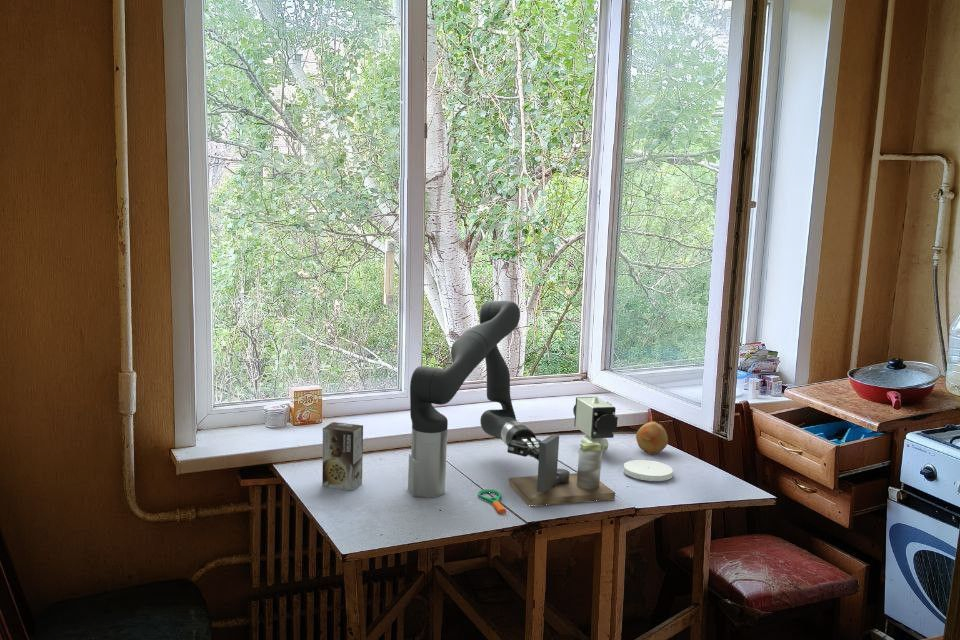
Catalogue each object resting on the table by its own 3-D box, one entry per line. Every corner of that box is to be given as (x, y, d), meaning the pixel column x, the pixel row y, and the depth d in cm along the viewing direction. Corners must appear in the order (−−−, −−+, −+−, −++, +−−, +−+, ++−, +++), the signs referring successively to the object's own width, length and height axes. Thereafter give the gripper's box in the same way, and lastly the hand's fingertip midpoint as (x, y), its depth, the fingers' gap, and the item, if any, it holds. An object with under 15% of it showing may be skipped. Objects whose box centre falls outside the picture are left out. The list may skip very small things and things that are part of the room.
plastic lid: (645, 465, 236) (646, 457, 235) (682, 479, 225) (683, 470, 224) (613, 472, 227) (613, 464, 227) (649, 487, 216) (650, 479, 216)
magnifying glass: (475, 494, 206) (475, 488, 206) (497, 493, 207) (497, 486, 207) (490, 516, 191) (490, 509, 191) (513, 514, 193) (514, 508, 193)
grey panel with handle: (548, 497, 198) (552, 444, 196) (530, 493, 200) (533, 441, 198) (571, 479, 213) (575, 429, 211) (554, 475, 215) (557, 426, 213)
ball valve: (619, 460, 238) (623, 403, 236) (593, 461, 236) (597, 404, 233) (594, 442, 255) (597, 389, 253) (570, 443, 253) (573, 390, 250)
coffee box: (363, 483, 208) (364, 425, 206) (352, 491, 202) (354, 431, 200) (332, 478, 211) (333, 421, 209) (320, 486, 205) (321, 427, 202)
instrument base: (529, 506, 198) (532, 454, 196) (508, 484, 213) (510, 436, 211) (614, 499, 205) (618, 450, 203) (588, 479, 220) (591, 432, 218)
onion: (632, 447, 252) (634, 417, 251) (663, 449, 252) (666, 419, 251) (637, 456, 243) (639, 425, 241) (669, 458, 242) (672, 427, 241)
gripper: (496, 425, 215) (518, 444, 199) (540, 423, 219) (566, 441, 203) (494, 451, 216) (517, 472, 200) (539, 448, 220) (564, 469, 204)
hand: (541, 456), depth 201 cm, fingers closed
